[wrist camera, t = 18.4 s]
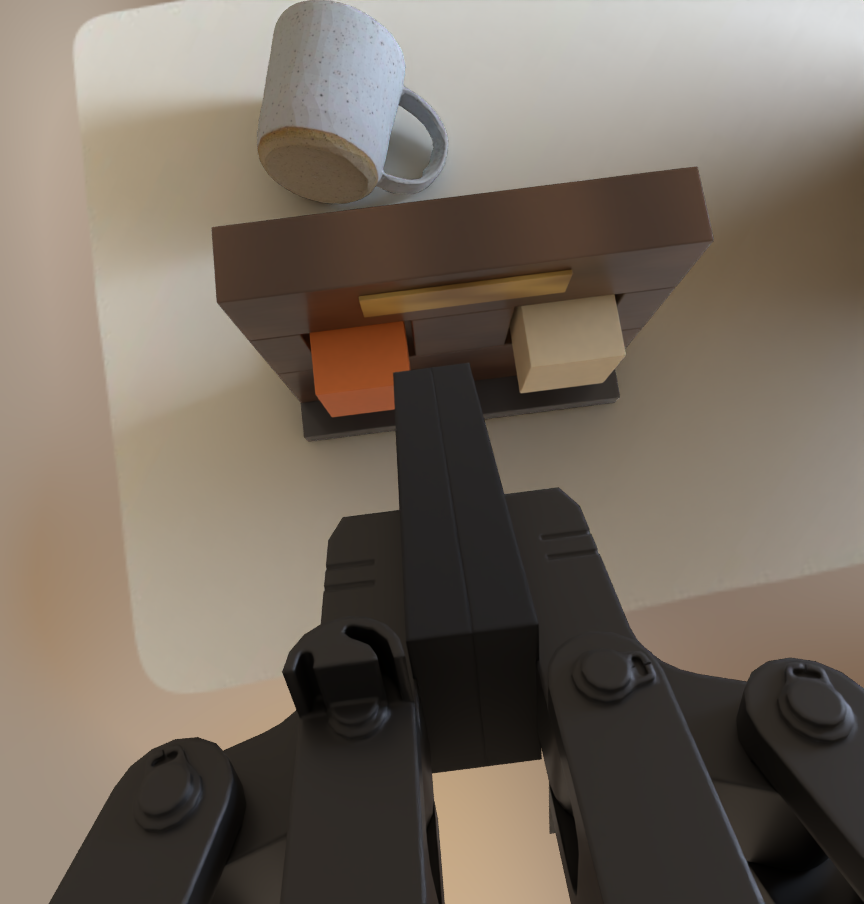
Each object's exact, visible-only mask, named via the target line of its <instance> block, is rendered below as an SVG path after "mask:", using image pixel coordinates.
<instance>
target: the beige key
mask: <svg viewBox="0 0 864 904" xmlns="http://www.w3.org/2000/svg"><path fill="white" fill-rule="evenodd" d="M509 327H510V333H511V340H512V346H513V352H514V359H515V365H516V372H517V378H518V384H519V391H520V393H527V392H535V391H543V390H551V389H559V388H567V387H574V386H582V385H590V384H598V383H603V382H604V381H605V380H606V379H607V377H608V376H609V375H610V374H611V373H612V371H613V370H614V369H615V368H616V367H617V365H618V364H619V363H620V362H621V361H622V359H623V358H624V357H625V356H626V352H625V347H624V342H623V337H622V331H621V326H620V321H619V315H618V310H617V305H616V300H615V294H613V295H605V296H597V297H589V298H581V299H573V300H565V301H557V302H549V303H542V304H534V305H526V306H518V307H514V311H513V314H512V318H511V322H510V326H509Z"/></svg>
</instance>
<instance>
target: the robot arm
mask: <svg viewBox="0 0 864 904" xmlns="http://www.w3.org/2000/svg"><path fill="white" fill-rule="evenodd" d="M393 384H394V405H395V426H396V447H397V467H398V488H399V509H400V510H396V511H388V512H380V513H372V514H365V515H357V516H349V517H343V518H342V520H341V521H340V523H339V524H338V526H337V527H336V529H335V531H334V532H333V534H332V535H331V537H330V539H329V540H328V549H327V560H326V568H327V570H326V572H325V583H324V588H325V591H324V594H323V605H322V616H321V625H319V626H317V627H316V628H314V629H313V630H311V631H310V632H308V633H306V634H305V635H304V636H303V637H302V638H301V639H300V640H299V641H298V643H297V644H296V645H295V646H294V647H293V648H292V650H291V651H290V652H289V655H288V657H287V660H286V663H285V666H284V668H283V671H282V673H283V675H284V678H285V681H286V683H287V686H288V688H289V691H290V694H291V696H292V699H293V702H294V704H295V707H296V711H295V712H294V713H293V714H291V715H290V716H289V717H288V718H287V719H285V720H284V721H283V722H282V723H280V724H279V725H277V726H275V727H273V728H272V729H270V730H268V731H266V732H264V733H262V734H260V735H258V736H255V737H253V738H251V739H249V740H246V741H244V742H242V743H239V744H237V745H235V746H233V747H230V748H228V749H226V750H224V751H222V749H221V748H220V747H219V746H218V745H217V744H216V743H213V742H210V741H207V740H204V739H201V738H199V737H195V738H185V739H175V740H173V741H170V742H168V743H166V744H164V745H161V746H159V747H157V748H154V749H152V750H151V751H149V752H148V753H147V754H146V755H144V756H143V757H142V758H140V759H139V760H138V761H137V762H135V763H134V764H133V765H132V766H131V767H130V768H129V769H128V771H127V772H126V773H125V774H124V776H123V777H122V778H121V780H120V781H119V782H118V784H117V785H116V786H115V787H114V789H113V791H112V792H111V794H110V796H109V798H108V800H107V801H106V803H105V805H104V807H103V808H102V810H101V812H100V814H99V815H98V817H97V819H96V821H95V823H94V825H93V826H92V828H91V830H90V831H89V833H88V835H87V837H86V839H85V840H84V842H83V844H82V846H81V847H80V849H79V851H78V853H77V855H76V856H75V858H74V860H73V862H72V863H71V865H70V867H69V869H68V870H67V872H66V874H65V876H64V878H63V879H62V881H61V883H60V885H59V886H58V889H57V890H56V892H55V894H54V895H53V897H52V899H51V901H50V903H49V904H445V902H444V889H443V876H442V864H441V851H440V840H439V828H438V827H439V826H438V817H437V812H436V807H435V802H434V794H433V781H432V773H438V772H446V771H454V770H462V769H470V768H478V767H485V766H493V765H500V764H508V763H516V762H524V761H532V760H540V759H542V758H541V748H542V752H543V757H544V761H545V765H546V770H547V774H548V779H549V823H550V834H552V833H556V836H557V841H558V846H559V851H560V855H561V859H562V864H563V869H564V873H565V878H566V883H567V888H568V892H569V897H570V901H571V904H864V688H862V687H861V686H860V685H858V684H857V683H856V682H854V681H853V680H852V679H850V678H849V677H848V676H846V675H845V674H843V673H842V672H840V671H838V670H835V669H833V668H830V667H828V666H825V665H823V664H821V663H818V662H816V661H810V660H803V659H796V658H785V659H779V660H773V661H768V662H766V663H765V664H763V665H762V666H760V667H759V668H757V669H756V670H754V671H753V672H752V673H751V675H750V678H749V679H748V681H747V682H746V681H740V680H734V679H727V678H721V677H714V676H708V675H701V674H696V673H693V672H689V671H684V670H680V669H678V668H676V667H674V666H672V665H669V664H667V663H665V662H663V661H661V660H660V659H659V658H657V657H656V656H654V655H653V654H652V653H651V652H650V651H649V650H647V649H646V648H645V647H644V646H643V645H642V644H641V643H640V642H639V641H638V640H637V639H636V637H635V635H634V633H633V632H632V630H631V628H630V627H629V624H628V621H627V619H626V617H625V614H624V612H623V609H622V607H621V604H620V602H619V600H618V597H617V595H616V592H615V590H614V588H613V585H612V583H611V580H610V578H609V575H608V573H607V571H606V568H605V566H604V563H603V561H602V558H601V556H600V554H598V550H597V546H596V544H595V542H594V539H593V537H592V534H590V531H589V527H588V525H587V522H586V520H585V517H584V515H583V513H582V510H581V508H580V506H579V505H578V504H577V503H576V502H575V501H574V500H572V499H571V498H570V497H569V496H568V495H567V494H566V493H565V492H563V491H562V490H561V489H560V488H559V487H558V488H550V489H542V490H535V491H527V492H519V493H511V494H504V492H503V488H502V484H501V481H500V477H499V473H498V469H497V466H496V462H495V458H494V454H493V451H492V447H491V443H490V439H489V436H488V432H487V428H486V424H485V421H484V417H483V413H482V409H481V406H480V402H479V398H478V394H477V391H476V387H475V383H474V379H473V376H472V372H471V368H470V364H469V363H462V364H455V365H447V366H439V367H431V368H424V369H416V370H408V371H400V372H393Z"/></svg>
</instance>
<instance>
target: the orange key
mask: <svg viewBox="0 0 864 904" xmlns="http://www.w3.org/2000/svg"><path fill="white" fill-rule="evenodd" d="M310 344H311V354H312V364H313V375H314V385H315V394H316V396H317V397H318V399H319V400H320V401H321V403H322V404H323V406H324V407H325V408H326V410H327V411H328V413H329V414H330V415H331V417H339V416H347V415H354V414H362V413H370V412H378V411H386V410H394V409H395V405H394V384H393V372H400V371H408V370H411V369H410V361H409V353H408V345H407V337H406V329H405V323H404V321H399V322H391V323H384V324H376V325H368V326H360V327H352V328H344V329H336V330H328V331H320V332H312V333H310Z"/></svg>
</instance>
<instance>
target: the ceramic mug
mask: <svg viewBox="0 0 864 904" xmlns="http://www.w3.org/2000/svg"><path fill="white" fill-rule="evenodd" d="M405 68H406V67H405V61H404V56H403V52H402V50H401V48H400V46H399V44H398V43H397V41H396V40H395V38H394V37H393V36H392V34H391V33H390V32H389V31H388V30H387V29H386V28H385V27H384V26H383V25H381V24H380V23H379V22H378V21H376V20H375V19H374V18H372V17H371V16H369V15H367V14H366V13H364V12H362V11H360V10H358V9H357V8H354V7H352V6H349V5H346V4H343V3H340V2H334V1H330V0H309V1H303V2H299V3H297V4H294V5H292V6H290V7H289V8H288V9H286V10H285V11H284V12H283V13H282V15H281V16H280V18H279V19H278V21H277V23H276V26H275V29H274V34H273V41H272V47H271V54H270V60H269V65H268V71H267V77H266V84H265V90H264V98H263V103H262V108H261V112H260V118H259V124H258V132H257V147H258V155H259V159H260V162H261V163H262V165H263V167H264V169H265V170H266V171H267V173H268V174H269V175H270V176H271V177H272V178H273V180H275V181H276V182H277V183H278V184H280V185H281V186H282V187H284V188H286V189H287V190H289V191H291V192H293V193H295V194H297V195H299V196H301V197H304V198H307V199H311V200H314V201H318V202H324V203H341V204H342V203H349V202H354V201H357V200H359V199H362V198H364V197H365V196H367V195H369V194H370V193H371V192H372V190H373V189H374V187H376V186H377V187H379V188H382V189H383V190H386V191H388V192H391V193H399V194H414V193H417V192H420V191H422V190H424V189H425V188H427V187H428V186H429V185H430V184H431V183H432V182H433V181H434V180H435V178H436V177H437V176H438V175H439V173H440V172H441V170H442V168H443V166H444V164H445V161H446V157H447V154H448V136H447V132H446V129H445V127H444V125H443V123H442V121H441V119H440V117H439V116H438V114H437V113H436V112H435V111H434V109H433V108H432V107H431V106H430V105H429V104H428V103H427V102H426V101H425V100H424V99H423V98H421V97H420V96H419V95H417V94H416V93H415V92H413V91H411V90H410V89H408V88H407V87H405V86H404V84H403V82H404V76H405ZM398 105H399V106H401V107H403V108H404V109H406V110H407V111H408V112H410V113H411V114H412V115H414V116H415V117H416V118H417V119H418V120H419V121H420V122H421V123H422V124H423V125H424V126H425V128H426V129H427V130H428V132H429V134H430V136H431V138H432V141H433V151H432V154H431V158H430V162H429V164H428V167H427V168H425V169H424V170H423V176H422V178H420V179H411V180H408V179H404V178H399V177H395V176H394V175H390V174H387V173H385V172H384V170H383V168H384V164H385V160H386V156H387V151H388V146H389V140H390V135H391V131H392V127H393V124H394V120H395V116H396V113H397V108H398Z"/></svg>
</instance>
